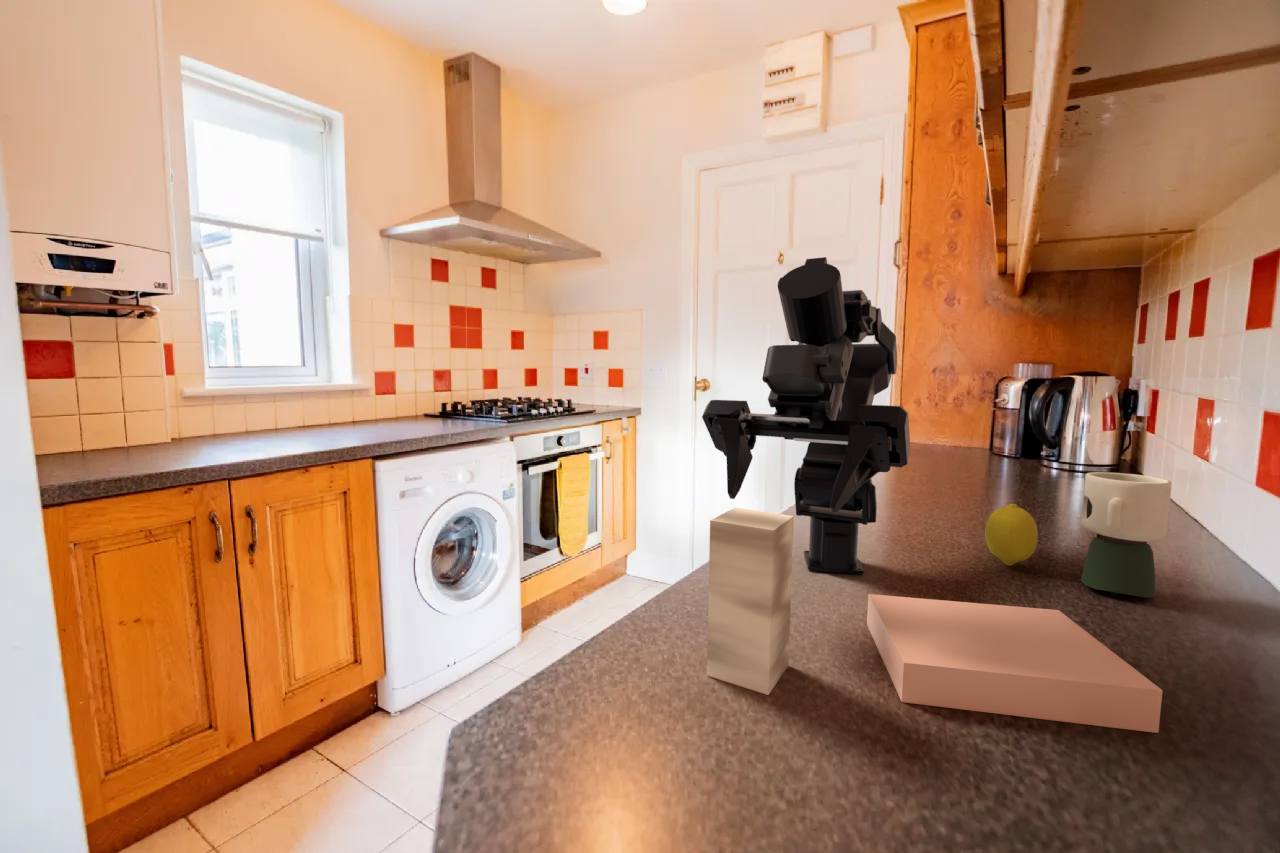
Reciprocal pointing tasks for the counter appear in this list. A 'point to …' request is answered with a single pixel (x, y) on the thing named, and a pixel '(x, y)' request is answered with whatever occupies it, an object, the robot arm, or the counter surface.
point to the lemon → (1011, 534)
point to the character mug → (1124, 530)
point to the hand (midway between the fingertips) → (779, 502)
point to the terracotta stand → (1008, 663)
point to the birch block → (749, 598)
